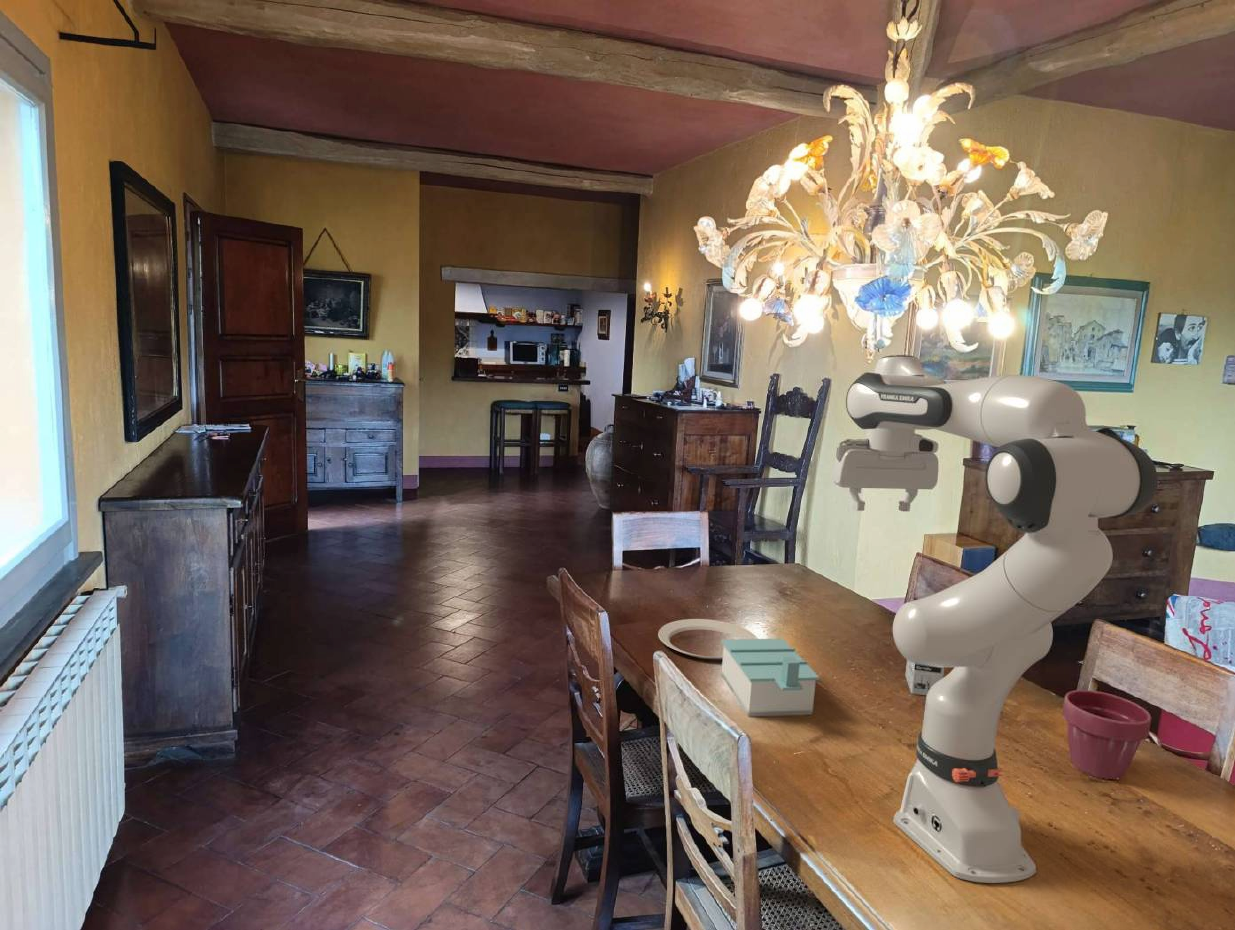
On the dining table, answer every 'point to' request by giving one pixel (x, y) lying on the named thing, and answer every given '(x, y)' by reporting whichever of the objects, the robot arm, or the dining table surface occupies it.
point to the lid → (770, 662)
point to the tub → (766, 693)
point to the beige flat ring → (705, 624)
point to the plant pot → (1103, 732)
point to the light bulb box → (922, 677)
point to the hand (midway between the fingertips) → (881, 510)
